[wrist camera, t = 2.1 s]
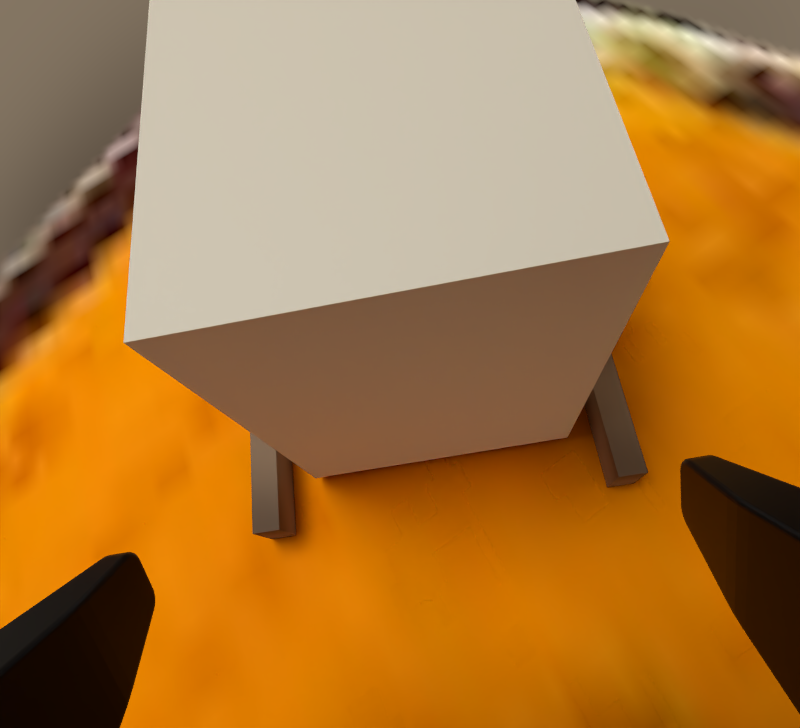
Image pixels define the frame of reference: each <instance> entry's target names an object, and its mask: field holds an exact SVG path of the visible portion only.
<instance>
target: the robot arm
mask: <svg viewBox="0 0 800 728" xmlns="http://www.w3.org/2000/svg"><path fill="white" fill-rule="evenodd" d="M680 473H681V508H682V513H683V517H684V519H685V522H686V524H687V526H688V528H689V530H690V532H691V534H692V536H693V537H694V539H695V541H696V543H697V545H698V547H699V549H700V551H701V553H702V555H703V557H704V559H705V561H706V562H707V564H708V566H709V568H710V570H711V572H712V574H713V576H714V578H715V580H716V582H717V584H718V585H719V587H720V589H721V591H722V593H723V595H724V597H725V599H726V601H727V603H728V604H729V606H730V608H731V610H732V612H733V613H734V615H735V617H736V618H737V620H738V622H739V623H740V625H741V626H742V628H743V629H744V631H745V633H746V634H747V636H748V637H749V639H750V640H751V642H752V643H753V645H754V646H755V648H756V649H757V651H758V652H759V654H760V655H761V657H762V658H763V660H764V661H765V663H766V664H767V666H768V667H769V669H770V670H771V672H772V673H773V675H774V676H775V678H776V679H777V681H778V682H779V684H780V685H781V687H782V688H783V690H784V691H785V693H786V694H787V696H788V697H789V699H790V700H791V702H792V703H793V705H794V706H795V708H796V709H797V711H798V712H799V714H800V488H799V487H797V486H794V485H791V484H789V483H786V482H783V481H780V480H778V479H775V478H772V477H770V476H767V475H764V474H762V473H759V472H756V471H754V470H751V469H748V468H746V467H743V466H740V465H737V464H735V463H732V462H729V461H727V460H724V459H721V458H719V457H716V456H713V455H707V456H701V457H695V458H689V459H685V460H684V461H683V462H682V464H681V470H680ZM154 607H155V594H154V590H153V588H152V586H151V583H150V581H149V579H148V577H147V575H146V572H145V570H144V568H143V566H142V564H141V562H140V559H139V558H138V556H137V555H136V554H134V553H132V552H126V553H120V554H114V555H109V556H106V557H104V558H102V559H101V560H100V561H98V562H97V563H95V564H94V565H92V566H91V567H89V568H88V569H87V570H85V571H84V572H82V573H81V574H79V575H78V576H76V577H75V578H74V579H72V580H71V581H69V582H68V583H66V584H65V585H63V586H62V587H61V588H59V589H58V590H56V591H55V592H53V593H52V594H50V595H49V596H48V597H46V598H45V599H43V600H42V601H40V602H39V603H38V604H36V605H35V606H33V607H32V608H30V609H29V610H27V611H26V612H25V613H23V614H22V615H20V616H19V617H17V618H16V619H14V620H13V621H12V622H10V623H9V624H7V625H6V626H4V627H3V628H1V629H0V728H120V725H121V723H122V720H123V717H124V714H125V711H126V708H127V705H128V702H129V699H130V696H131V692H132V689H133V685H134V682H135V678H136V674H137V671H138V667H139V663H140V660H141V656H142V652H143V648H144V645H145V641H146V637H147V634H148V630H149V626H150V623H151V619H152V615H153V611H154Z"/></svg>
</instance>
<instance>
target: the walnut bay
mask: <svg viewBox="0 0 800 728" xmlns="http://www.w3.org/2000/svg"><path fill="white" fill-rule="evenodd" d="M585 409H586V413H587V416H588V420H589V423H590V427H591V431H592V434H593V438H594V441H595V445H596V449H597V452H598V456H599V459H600V463H601V467H602V470H603V474H604V477H605V481H606V485H607V487H613V486H619V485H626V484H632V483H635V482H636V481H638V480H639V479H640V478H641V477H643V476H644V475H645V474H647V473H648V471H647V467H646V464H645V461H644V458H643V454H642V451H641V448H640V445H639V441H638V438H637V435H636V432H635V429H634V425H633V422H632V419H631V416H630V412H629V409H628V406H627V403H626V399H625V396H624V393H623V390H622V387H621V383H620V380H619V377H618V374H617V370H616V367H615V364H614V361H613V357H612V354H611V355H610V357H609V359H608V360H607V362H606V364H605V366H604V368H603V370H602V372H601V374H600V376H599V378H598V380H597V382H596V383H595V385H594V387H593V389H592V391H591V393H590V395H589V397H588V399H587V401H586V403H585ZM250 437H251V480H252V523H253V534H255V535H259V536H263V537H266V538H270V539H275V538H282V537H288V536H295V535H296V523H295V505H294V486H293V467H292V461H291V460H289V459H288V458H286V457H285V456H283V455H282V454H281V453H279V452H278V451H276V450H275V449H274V448H272V447H271V446H269V445H268V444H266V443H265V442H264V441H262V440H261V439H259V438H258V437H257V436H255V435H254V434H252V433H251V432H250Z"/></svg>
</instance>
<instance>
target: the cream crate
mask: <svg viewBox="0 0 800 728" xmlns="http://www.w3.org/2000/svg"><path fill="white" fill-rule="evenodd" d="M668 243H669V239H668V236H667V234H666V231H665V229H664V226H663V223H662V221H661V218H660V216H659V213H658V211H657V208H656V205H655V203H654V200H653V198H652V195H651V193H650V190H649V188H648V185H647V182H646V180H645V177H644V175H643V172H642V170H641V167H640V164H639V162H638V159H637V157H636V154H635V152H634V149H633V147H632V144H631V141H630V139H629V136H628V134H627V131H626V129H625V126H624V123H623V121H622V118H621V116H620V113H619V111H618V108H617V106H616V103H615V100H614V98H613V95H612V93H611V90H610V88H609V85H608V82H607V80H606V77H605V75H604V72H603V70H602V67H601V65H600V62H599V59H598V57H597V54H596V52H595V49H594V47H593V44H592V41H591V39H590V36H589V34H588V31H587V29H586V26H585V24H584V21H583V18H582V16H581V13H580V11H579V8H578V6H577V3H576V0H150V2H149V15H148V29H147V43H146V55H145V67H144V82H143V95H142V107H141V120H140V133H139V146H138V159H137V173H136V186H135V199H134V212H133V225H132V238H131V251H130V265H129V278H128V291H127V304H126V317H125V330H124V343H125V344H126V345H127V346H129V347H130V348H132V349H133V350H135V351H136V352H137V353H139V354H140V355H142V356H143V357H145V358H146V359H147V360H149V361H150V362H152V363H153V364H154V365H156V366H157V367H159V368H160V369H162V370H163V371H164V372H166V373H167V374H169V375H170V376H171V377H173V378H174V379H176V380H177V381H179V382H180V383H181V384H183V385H184V386H186V387H187V388H188V389H190V390H191V391H193V392H194V393H196V394H197V395H198V396H200V397H201V398H203V399H204V400H205V401H207V402H208V403H210V404H211V405H213V406H214V407H215V408H217V409H218V410H220V411H221V412H222V413H224V414H225V415H227V416H228V417H230V418H231V419H232V420H234V421H235V422H237V423H238V424H239V425H241V426H242V427H244V428H245V429H247V430H248V431H249V432H251V433H252V434H254V435H255V436H257V437H258V438H259V439H261V440H262V441H264V442H265V443H266V444H268V445H269V446H271V447H272V448H274V449H275V450H276V451H278V452H279V453H281V454H282V455H283V456H285V457H286V458H288V459H289V460H291V461H292V462H293V463H295V464H296V465H298V466H299V467H300V468H302V469H303V470H305V471H306V472H308V473H309V474H310V475H312V476H313V477H315V478H320V477H326V476H332V475H338V474H344V473H351V472H357V471H363V470H369V469H375V468H382V467H388V466H394V465H400V464H406V463H413V462H419V461H425V460H431V459H437V458H443V457H450V456H456V455H462V454H468V453H474V452H481V451H487V450H493V449H499V448H505V447H512V446H518V445H524V444H530V443H536V442H542V441H549V440H555V439H561V438H567V437H568V435H569V433H570V432H571V430H572V428H573V426H574V424H575V422H576V420H577V418H578V416H579V414H580V412H581V410H582V408H583V407H584V405H585V403H586V401H587V399H588V397H589V395H590V393H591V391H592V389H593V387H594V385H595V383H596V382H597V380H598V378H599V376H600V374H601V372H602V370H603V368H604V366H605V364H606V362H607V360H608V359H609V357H610V355H611V353H612V351H613V349H614V347H615V345H616V343H617V341H618V339H619V337H620V335H621V334H622V332H623V330H624V328H625V326H626V324H627V322H628V320H629V318H630V316H631V314H632V312H633V311H634V309H635V307H636V305H637V303H638V301H639V299H640V297H641V295H642V293H643V291H644V289H645V287H646V286H647V284H648V282H649V280H650V278H651V276H652V274H653V272H654V270H655V268H656V266H657V264H658V263H659V261H660V259H661V257H662V255H663V253H664V251H665V249H666V247H667V245H668Z"/></svg>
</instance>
